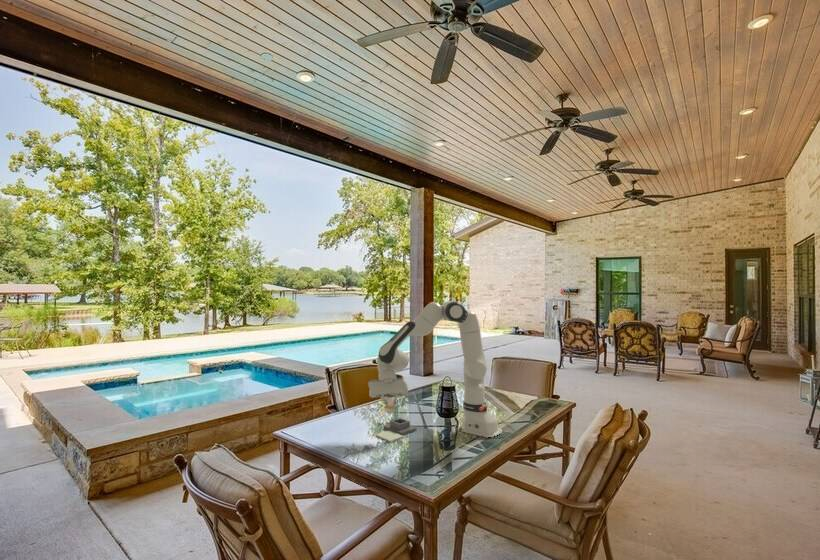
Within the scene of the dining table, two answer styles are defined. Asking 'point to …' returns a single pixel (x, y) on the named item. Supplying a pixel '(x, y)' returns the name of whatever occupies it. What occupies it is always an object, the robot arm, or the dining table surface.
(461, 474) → the dining table surface
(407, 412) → the dining table surface
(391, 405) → the plug
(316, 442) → the dining table surface
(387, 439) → the mat
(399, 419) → the socket
